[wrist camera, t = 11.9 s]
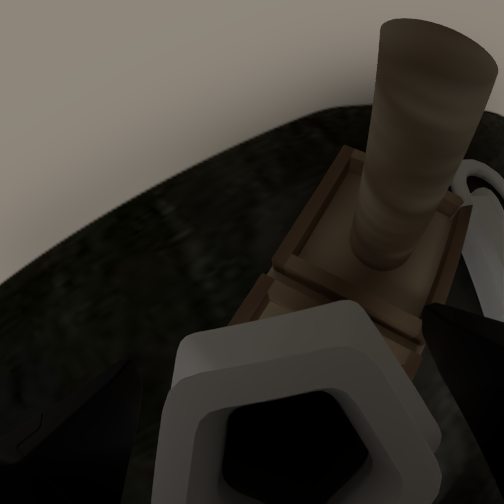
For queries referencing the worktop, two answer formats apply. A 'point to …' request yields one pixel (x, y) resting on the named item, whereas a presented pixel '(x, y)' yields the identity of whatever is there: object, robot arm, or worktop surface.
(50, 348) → the worktop surface
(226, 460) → the perfume bottle
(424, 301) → the divided wooden tray
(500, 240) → the oval loop handle
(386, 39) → the wooden billet
